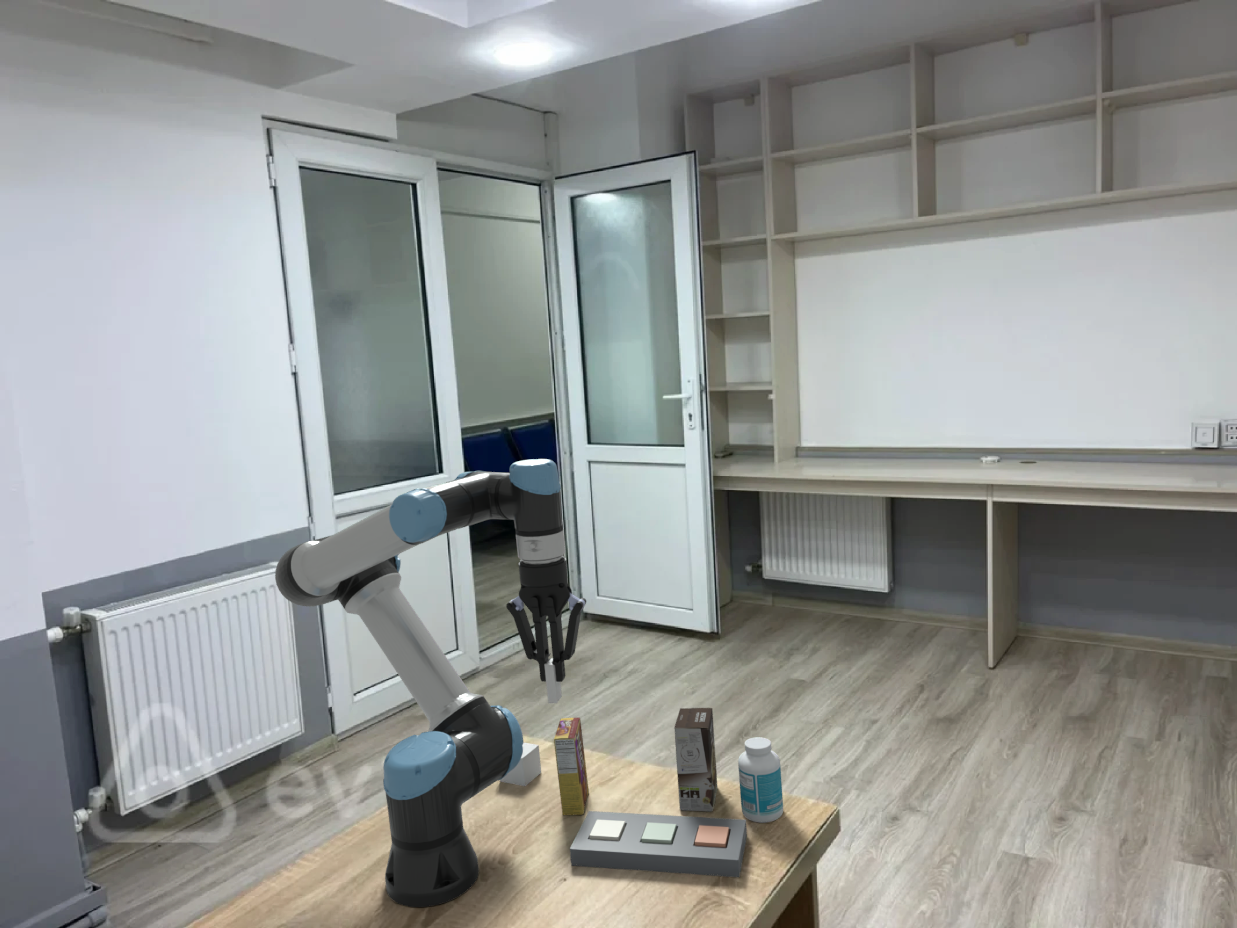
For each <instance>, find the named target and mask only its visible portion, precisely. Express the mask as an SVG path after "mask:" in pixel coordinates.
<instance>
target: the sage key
mask: <svg viewBox="0 0 1237 928" xmlns="http://www.w3.org/2000/svg"><path fill="white" fill-rule="evenodd" d="M676 832H677V829H676V824H666V823H649V822H647V825H646V828H645V830H644V833H643V836H642V838H641V840H642V843H658V844H673V841H674V838H675V835H676Z"/></svg>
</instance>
